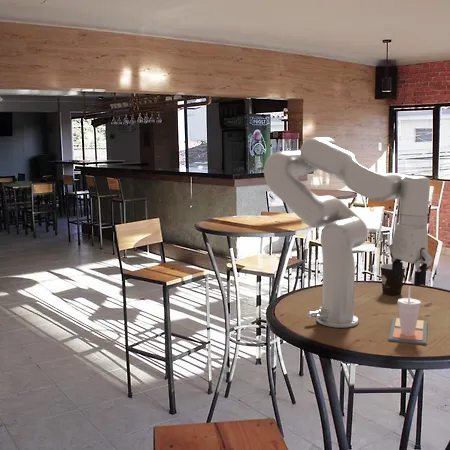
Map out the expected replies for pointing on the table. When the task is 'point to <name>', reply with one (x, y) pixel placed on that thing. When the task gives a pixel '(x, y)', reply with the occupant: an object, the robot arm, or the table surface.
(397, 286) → the coffee mug
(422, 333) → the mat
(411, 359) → the table surface
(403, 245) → the robot arm
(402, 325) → the smoothie
